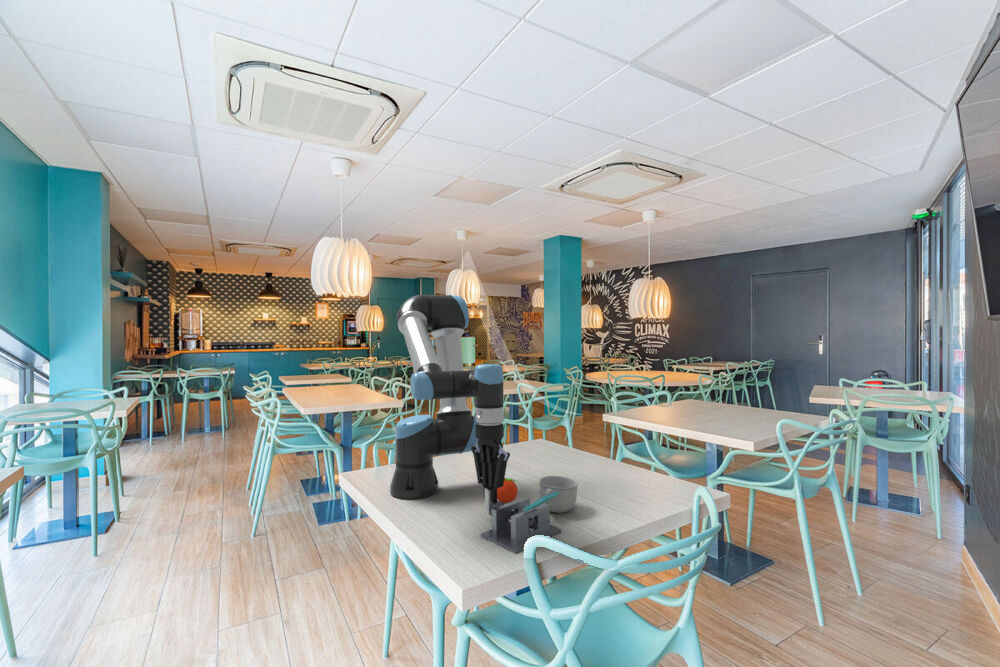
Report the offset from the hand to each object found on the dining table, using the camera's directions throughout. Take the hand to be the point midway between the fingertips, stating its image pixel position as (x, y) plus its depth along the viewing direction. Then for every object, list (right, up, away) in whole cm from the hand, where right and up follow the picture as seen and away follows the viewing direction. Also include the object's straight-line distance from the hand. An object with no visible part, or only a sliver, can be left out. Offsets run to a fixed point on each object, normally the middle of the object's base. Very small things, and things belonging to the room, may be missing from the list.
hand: (490, 512), depth 121 cm
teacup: (+18, -3, +7) cm, 20 cm away
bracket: (+8, -2, -8) cm, 11 cm away
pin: (+6, -1, -6) cm, 8 cm away
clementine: (+5, -3, +14) cm, 15 cm away
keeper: (+12, +7, -13) cm, 19 cm away
